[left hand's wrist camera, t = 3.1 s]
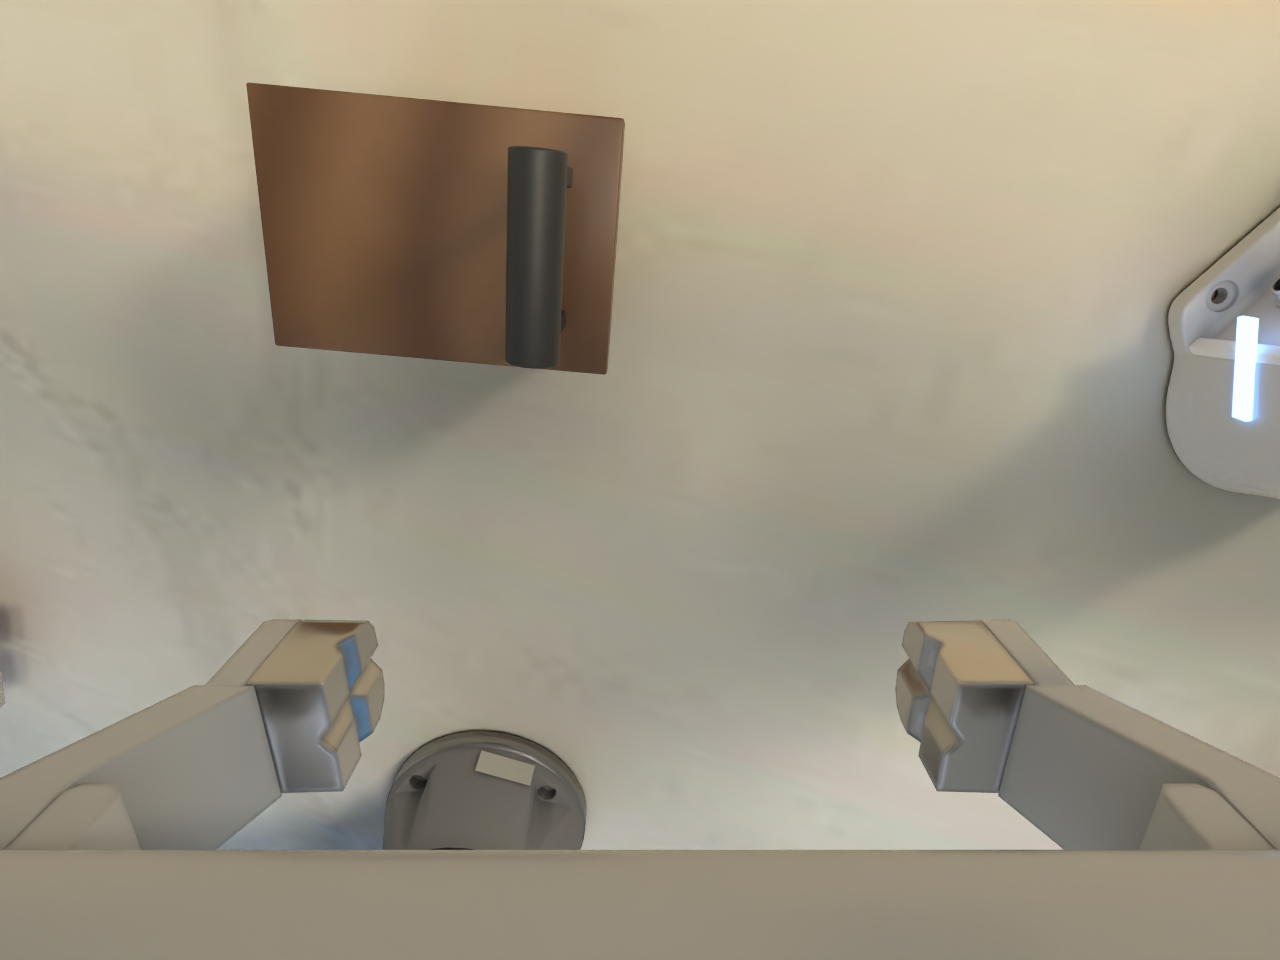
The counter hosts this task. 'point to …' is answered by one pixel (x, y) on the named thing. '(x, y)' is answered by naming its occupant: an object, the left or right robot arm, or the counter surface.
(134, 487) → the counter surface
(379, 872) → the left robot arm
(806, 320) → the counter surface
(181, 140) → the counter surface
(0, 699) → the toy
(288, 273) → the lid
